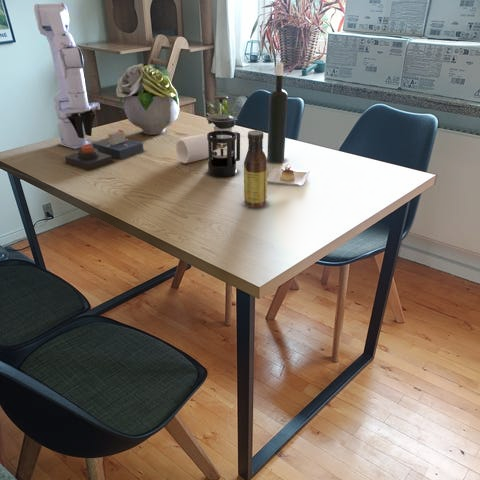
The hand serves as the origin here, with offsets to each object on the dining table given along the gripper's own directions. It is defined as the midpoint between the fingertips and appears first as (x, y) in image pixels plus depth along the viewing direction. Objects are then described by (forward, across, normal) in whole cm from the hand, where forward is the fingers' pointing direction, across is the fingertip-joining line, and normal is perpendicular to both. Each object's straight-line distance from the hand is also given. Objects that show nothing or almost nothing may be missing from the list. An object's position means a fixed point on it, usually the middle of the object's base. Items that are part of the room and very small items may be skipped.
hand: (84, 136), depth 161 cm
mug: (+9, +24, -25) cm, 36 cm away
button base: (+9, 0, 0) cm, 9 cm away
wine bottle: (+9, +40, -49) cm, 64 cm away
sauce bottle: (+9, +5, -65) cm, 66 cm away
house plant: (+9, +45, -21) cm, 50 cm away
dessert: (+9, +27, -62) cm, 68 cm away
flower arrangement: (+9, +39, +8) cm, 41 cm away
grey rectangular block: (+6, +14, +1) cm, 15 cm away
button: (+5, 0, 0) cm, 5 cm away
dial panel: (+9, +14, +1) cm, 16 cm away
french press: (+9, +20, -42) cm, 47 cm away
